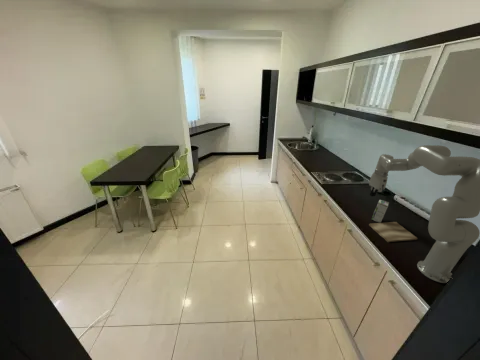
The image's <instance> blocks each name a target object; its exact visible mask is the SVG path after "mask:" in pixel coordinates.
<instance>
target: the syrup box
mask: <svg viewBox="0 0 480 360" xmlns="http://www.w3.org/2000/svg"><path fill="white" fill-rule="evenodd" d="M389 204H390V202H389V201H386V200H383V199H379V200H378V202H377V205H376V207H375V209H374V211H373V215H372V217H371V220H372V221H374V222H375V223H382V221H383V219H384V217H385V214H386V212H387V210H388V207H389Z"/></svg>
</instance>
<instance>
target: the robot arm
mask: <svg viewBox="0 0 480 360" xmlns="http://www.w3.org/2000/svg"><path fill="white" fill-rule="evenodd" d="M451 154H452V153H451V150H450V148H448V147H447V146H445V145H438V144H437V145H436V144H435V145H429V144H427V145H420V146H418V147H416V148H415V149H414V151H413V152H411V153H410V154H408V157H407V158H394V156H393V155H390V154H386V153H385V154H384V153H383V154H381V155H379V158H378V161H377V164H376V167H375V168H374V172H373V173H372V174H371V177H370V179H369V181H368V185H369V187H370V190H371V191H370V193H369V196H370V197H376V195H377V193H378V192H379V193H382V192H383V190H385V189H386V186H387V183H388V177H389V171H390V172H405V171H411V170H412V171H413V170H415V169H419V168H420V167H423V168H426V169H427V170H428V171H430V172H431V173H434V174H435V175H438V176H444V177H445V176H446V177H447V176H460V177H461V178H460V179H459V180H458V181H457V182H456V184H455V186H454V189H453V190H454V191H453V193H452V195H451V196H442V197H439V198H436V199H435V200H434V202H433V203H432V205H431V210H430V214H429V220H428V226H427V229H428V233H429V236H430V237H431V238H432V239H434V240H435V242H434V243H433V244H432V247H431V248H430V250H429V252H428V254H427V255H426V256H425V258H424V260H419V261H418V262H417V264H416V266H417V269H418V270H419V271H420V272H421V274H422V275H423V276H425V277H426V278H428V279H430V280H432V281H435V282H437V283H441V284H448V283H447V282H448V281H449V280H450V278H452V276H453V273H452V272H451V271H453V269H454V267H455V266H456V265H457V263H458V262H459V260H460V259H461V257H462V256H463V255H464V254H465V252H467V249H469V248H470V247H471V246H472V245H473V244H474V243H476V241H477V240H478V239H479V237H480V229H479V227H478V226H477V225H476V223H474V222H471V221H469V220H466V219H473V218H476V217H478V216H479V214H480V158H477V157H472V156H451Z"/></svg>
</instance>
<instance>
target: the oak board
mask: <svg viewBox="0 0 480 360" xmlns="http://www.w3.org/2000/svg"><path fill="white" fill-rule="evenodd" d="M368 226H369V227H371V228H372V230H373V231H375V232H376V233H377V234H378V235H379V236H380V237H381V238H383V240H385V241H386V242H387V243H391V242H403V241H417V240H418V237H417V236H415V235H414V234H413V233H411V232H410V231H409V230H407V229H406V228H404V227H403V226H402V225H400V224H399V223H398V222H397V221H390V222H387V221H386V222H381V223H379V222H375V223H374V222H373V223H369V224H368Z"/></svg>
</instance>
